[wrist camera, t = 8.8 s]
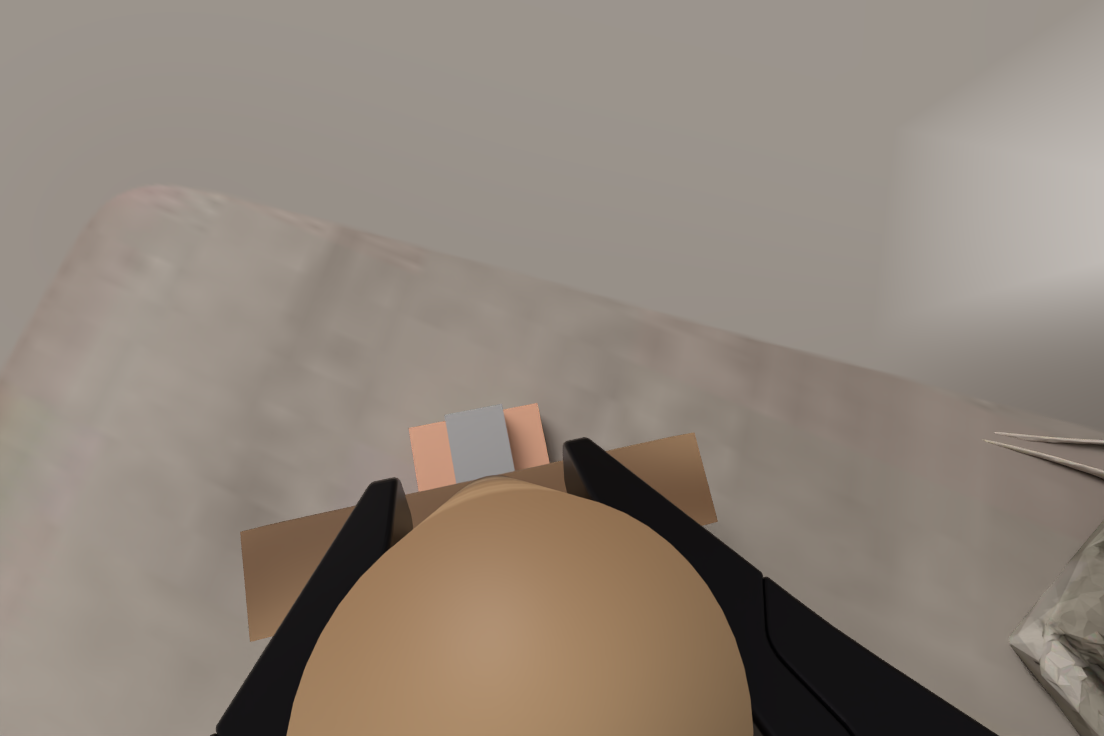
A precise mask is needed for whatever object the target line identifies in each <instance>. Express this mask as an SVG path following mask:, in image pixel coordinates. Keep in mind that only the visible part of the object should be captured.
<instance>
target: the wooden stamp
mask: <svg viewBox="0 0 1104 736" xmlns="http://www.w3.org/2000/svg"><path fill="white" fill-rule="evenodd" d="M606 452H607V453H608V454H610V455H611V456H612V457H614V458H615V459H616V460H617V461H619V462H620V463H621V464H623V465H624V466H625V467H626V468H628V469H629V470H630V471H632V472H633V473H634V474H635V475H637V476H638V477H639V478H641V479H642V480H643V481H645V482H646V483H647V484H648V485H650V486H651V487H652V488H654V489H655V490H656V491H657V492H659V493H660V494H661V495H663V496H664V497H665V498H666V499H668V500H669V501H670V502H672V503H673V504H674V505H675V506H677V507H678V508H679V509H681V510H682V511H683V512H684V513H686V514H687V515H688V516H690V517H691V518H692V519H694V520H695V521H696V522H697V523H699V524H700V525H701V526H702V525H706V524H710V523H714V522H718V520H717V516H716V513H715V509H714V505H713V501H712V498H711V494H710V490H709V486H708V482H707V479H706V475H705V471H704V467H703V464H702V460H701V456H700V452H699V448H698V445H697V441H696V437H695V433H689V434H683V435H678V436H672V437H668V438H663V439H659V440H654V441H649V442H645V443H640V444H636V445H631V446H627V447H622V448H617V449H613V450H608V451H606ZM405 496H406V499H407V502H408V506H409V509H410V512H411V516H412V522H413V530H412V531H411V532H409V533H408V534H407V535H406V536H405V537H403V538H402V539H401V540H400V541H399V542H397V543H396V544H395V545H394V546H393V547H391V548H390V549H389V550H388V551H387V552H385V553H384V554H383V555H382V556H381V557H380V558H379V559H378V560H377V561H376V562H375V563H374V564H373V565H372V566H371V567H370V568H369V569H368V570H367V571H366V572H365V573H364V574H363V575H362V576H361V577H360V578H359V580H358V581H357V582H356V584H355V585H354V586H353V587H352V589H351V590H350V591H349V592H348V594H347V595H346V596H345V597H344V599H343V600H342V601H341V603H340V604H339V605H338V607H337V609H336V610H335V612H334V613H333V615H332V617H331V618H330V620H329V621H328V623H327V625H326V626H325V628H324V630H323V631H322V633H321V635H320V637H319V639H318V641H317V643H316V645H315V647H314V649H313V652H312V654H311V656H310V658H309V660H308V662H307V664H306V667H305V669H304V672H303V675H302V678H301V681H300V684H299V687H298V690H297V693H296V696H295V699H294V702H293V707H292V712H291V717H290V721H289V726H288V731H287V736H753V721H752V710H751V699H750V694H749V689H748V684H747V679H746V674H745V669H744V665H743V662H742V659H741V656H740V653H739V650H738V646H737V643H736V640H735V637H734V635H733V633H732V631H731V628H730V626H729V624H728V622H727V620H726V617H725V615H724V613H723V611H722V609H721V607H720V606H719V604H718V602H717V601H716V599H715V597H714V596H713V594H712V592H711V591H710V589H709V587H708V586H707V584H706V583H705V582H704V580H703V579H702V578H701V577H700V575H699V574H698V573H697V572H696V570H695V569H694V568H693V566H692V565H691V564H690V563H689V562H688V561H687V560H686V559H685V558H684V557H683V556H682V555H681V554H680V553H679V552H678V551H677V550H676V549H675V548H674V547H673V546H672V545H671V544H670V543H669V542H668V541H667V540H665V539H664V538H663V537H661V536H660V535H659V534H657V533H656V532H655V531H654V530H652V529H651V528H650V527H648V526H647V525H645V524H643V523H641V522H640V521H638V520H636V519H634V518H633V517H631V516H629V515H628V514H626V513H624V512H621V511H619V510H616V509H614V508H612V507H609V506H607V505H604V504H602V503H599V502H596V501H592V500H589V499H585V498H582V497H578V496H575V495H571V494H568V493H567V490H566V486H565V481H564V468H563V460H562V461H558V462H553V463H549V464H544V465H540V466H535V467H530V468H526V469H521V470H517V471H512V472H508V473H503V474H498V475H491V476H485V477H481V478H479V479H476V480H471V481H466V482H462V483H457V484H453V485H448V486H444V487H439V488H434V489H430V490H425V491H421V492H416V493H411V494H407V495H405ZM354 508H355V506H352V507H347V508H343V509H338V510H334V511H329V512H325V513H320V514H315V515H311V516H306V517H302V518H297V519H293V520H288V521H283V522H279V523H274V524H270V525H266V526H262V527H258V528H254V529H250V530H246V531H242V532H240V534H241V545H242V557H243V568H244V579H245V590H246V601H247V613H248V624H249V635H250V642H251V641H255V640H259V639H263V638H267V637H271V636H274V634H275V632H276V631H277V629H278V628H279V626H280V625H281V623H282V621H283V620H284V618H285V617H286V615H287V614H288V612H289V610H290V609H291V607H292V606H293V604H294V602H295V601H296V599H297V598H298V596H299V595H300V593H301V591H302V590H303V588H304V587H305V585H306V584H307V582H308V580H309V579H310V577H311V576H312V574H313V572H314V571H315V569H316V568H317V566H318V565H319V563H320V561H321V560H322V558H323V557H324V555H325V554H326V552H327V550H328V549H329V547H330V546H331V544H332V542H333V541H334V539H335V538H336V536H337V535H338V533H339V531H340V530H341V528H342V527H343V525H344V524H345V522H346V520H347V519H348V517H349V516H350V514H351V512H352V511H353V509H354Z"/></svg>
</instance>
